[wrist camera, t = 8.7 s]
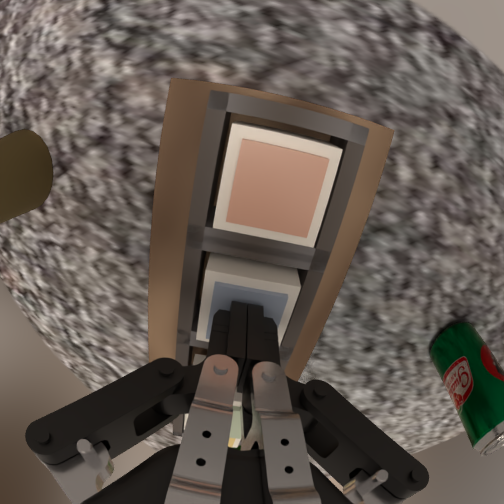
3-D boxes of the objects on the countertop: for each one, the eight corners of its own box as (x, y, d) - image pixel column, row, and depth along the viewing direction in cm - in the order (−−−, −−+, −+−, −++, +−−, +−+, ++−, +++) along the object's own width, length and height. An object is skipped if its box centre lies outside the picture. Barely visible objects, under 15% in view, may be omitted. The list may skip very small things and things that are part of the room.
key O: (326, 140, 14) (344, 150, 11) (303, 222, 16) (314, 250, 13) (236, 120, 13) (231, 123, 10) (220, 205, 15) (211, 230, 12)
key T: (294, 256, 17) (301, 291, 14) (274, 318, 18) (277, 356, 16) (213, 241, 16) (204, 273, 13) (203, 305, 18) (195, 343, 15)
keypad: (385, 128, 15) (421, 137, 11) (273, 415, 27) (274, 450, 24) (177, 79, 14) (152, 72, 10) (154, 396, 26) (145, 430, 23)
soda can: (434, 325, 22) (495, 437, 11) (477, 313, 22) (541, 408, 11) (422, 363, 24) (466, 466, 14) (463, 351, 24) (511, 442, 13)
